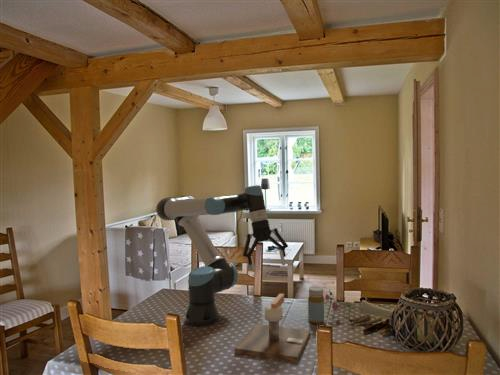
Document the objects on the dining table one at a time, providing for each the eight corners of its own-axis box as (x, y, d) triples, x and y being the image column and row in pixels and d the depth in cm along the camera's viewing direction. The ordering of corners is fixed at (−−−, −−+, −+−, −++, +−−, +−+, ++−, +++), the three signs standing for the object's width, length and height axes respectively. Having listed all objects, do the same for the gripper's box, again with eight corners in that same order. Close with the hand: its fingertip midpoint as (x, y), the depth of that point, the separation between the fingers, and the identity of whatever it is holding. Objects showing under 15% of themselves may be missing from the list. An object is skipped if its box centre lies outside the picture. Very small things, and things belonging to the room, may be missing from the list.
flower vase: (400, 343, 174) (320, 319, 182) (398, 324, 185) (323, 303, 193) (407, 321, 170) (325, 298, 177) (405, 304, 181) (328, 283, 188)
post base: (234, 353, 152) (234, 327, 151) (254, 328, 174) (254, 305, 174) (297, 362, 144) (297, 335, 143) (310, 335, 166) (309, 311, 166)
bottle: (324, 325, 177) (323, 291, 176) (307, 324, 178) (307, 290, 177) (324, 319, 183) (324, 286, 182) (308, 318, 185) (308, 285, 184)
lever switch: (280, 322, 154) (279, 308, 154) (262, 320, 156) (262, 306, 156) (290, 307, 170) (290, 294, 169) (274, 306, 172) (273, 293, 172)
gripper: (233, 225, 171) (243, 275, 169) (288, 214, 177) (298, 262, 175) (230, 226, 178) (239, 273, 177) (283, 215, 184) (293, 261, 182)
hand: (269, 268), depth 176 cm, fingers open, 13 cm apart
